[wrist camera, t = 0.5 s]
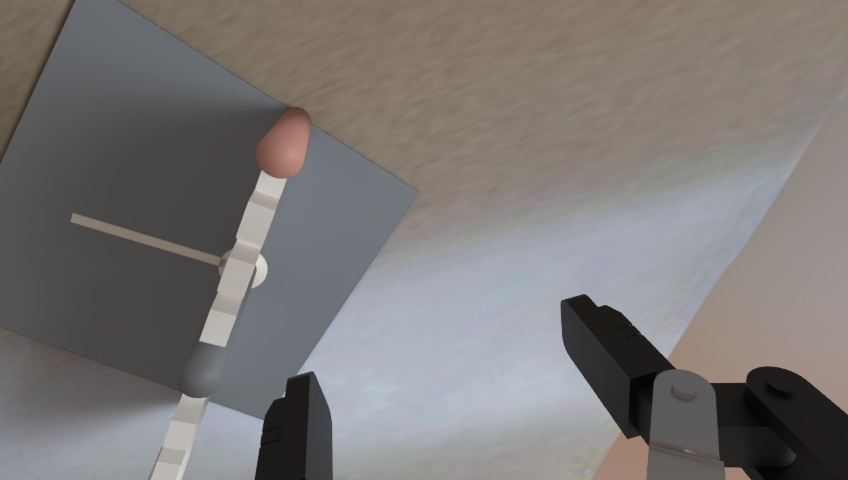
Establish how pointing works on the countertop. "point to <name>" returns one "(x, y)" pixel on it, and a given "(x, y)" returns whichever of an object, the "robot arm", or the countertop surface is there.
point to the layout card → (173, 211)
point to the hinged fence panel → (258, 218)
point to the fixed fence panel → (194, 398)
